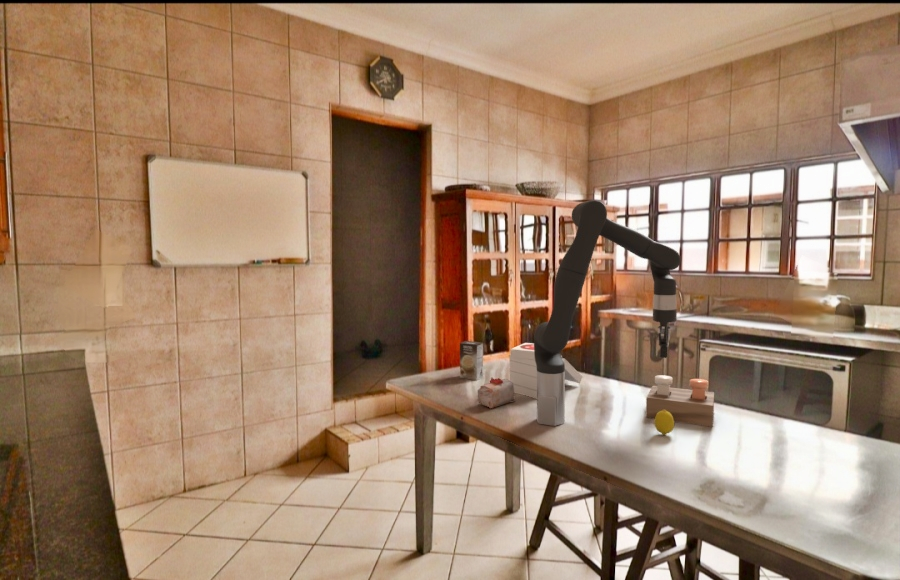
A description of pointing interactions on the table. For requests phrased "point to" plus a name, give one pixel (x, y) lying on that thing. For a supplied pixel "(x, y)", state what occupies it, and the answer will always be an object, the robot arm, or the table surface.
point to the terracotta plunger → (698, 388)
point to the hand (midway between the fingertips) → (664, 357)
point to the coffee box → (471, 360)
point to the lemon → (664, 422)
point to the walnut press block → (682, 406)
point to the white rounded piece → (663, 384)
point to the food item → (496, 393)
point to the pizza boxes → (531, 370)
